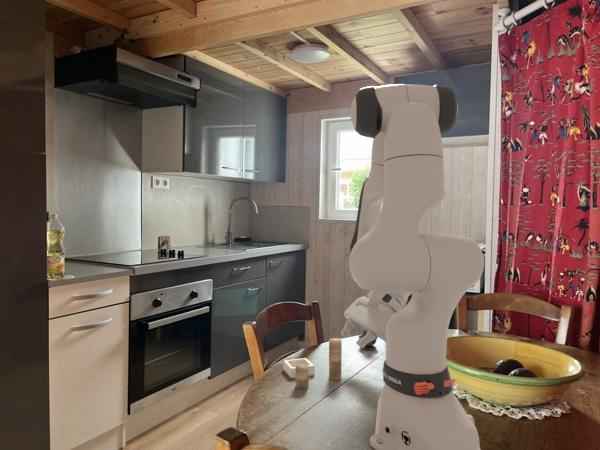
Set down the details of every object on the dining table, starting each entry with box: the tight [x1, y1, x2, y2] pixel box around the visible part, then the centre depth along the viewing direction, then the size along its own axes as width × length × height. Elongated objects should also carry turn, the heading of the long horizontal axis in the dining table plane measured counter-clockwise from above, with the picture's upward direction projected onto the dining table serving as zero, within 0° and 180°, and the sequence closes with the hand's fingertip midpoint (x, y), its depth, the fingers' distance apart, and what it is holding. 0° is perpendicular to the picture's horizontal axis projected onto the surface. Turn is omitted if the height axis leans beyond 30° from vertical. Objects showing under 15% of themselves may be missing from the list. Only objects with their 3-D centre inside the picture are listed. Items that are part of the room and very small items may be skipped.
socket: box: [283, 357, 315, 379], centre depth 119 cm, size 6×6×2 cm
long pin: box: [328, 337, 343, 382], centre depth 115 cm, size 3×3×10 cm
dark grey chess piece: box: [358, 329, 378, 352], centre depth 140 cm, size 6×6×12 cm
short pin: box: [295, 365, 310, 391], centre depth 109 cm, size 3×3×5 cm
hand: (350, 340), depth 116 cm, fingers open, 8 cm apart
